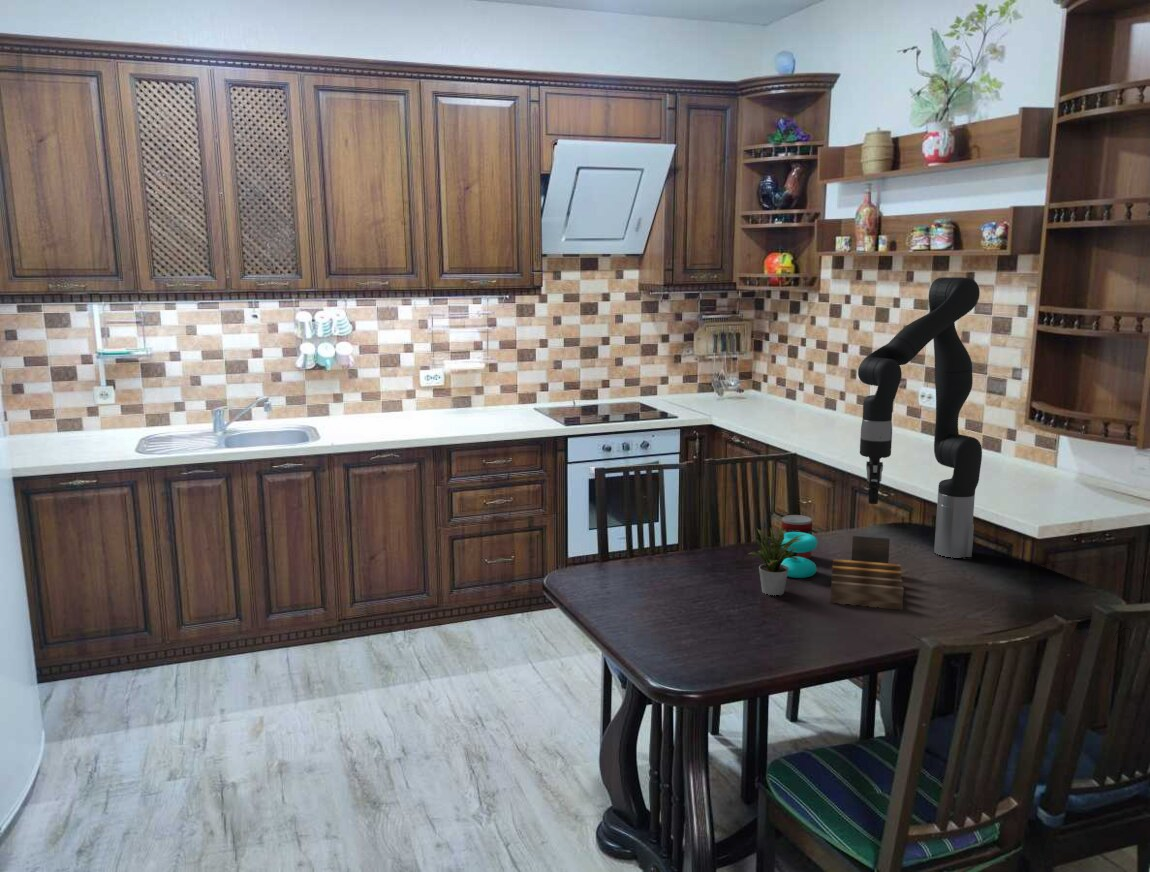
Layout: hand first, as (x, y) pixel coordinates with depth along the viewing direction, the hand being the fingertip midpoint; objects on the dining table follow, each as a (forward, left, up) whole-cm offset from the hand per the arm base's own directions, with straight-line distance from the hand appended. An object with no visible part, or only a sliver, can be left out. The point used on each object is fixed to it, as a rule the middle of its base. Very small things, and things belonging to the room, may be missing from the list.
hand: (872, 499), depth 232 cm
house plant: (+22, +22, -20) cm, 37 cm away
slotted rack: (+1, +16, -20) cm, 25 cm away
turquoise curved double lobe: (+18, +5, -20) cm, 27 cm away
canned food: (+19, -8, -20) cm, 28 cm away
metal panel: (0, 0, -20) cm, 20 cm away
